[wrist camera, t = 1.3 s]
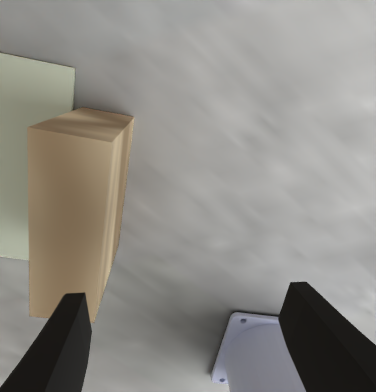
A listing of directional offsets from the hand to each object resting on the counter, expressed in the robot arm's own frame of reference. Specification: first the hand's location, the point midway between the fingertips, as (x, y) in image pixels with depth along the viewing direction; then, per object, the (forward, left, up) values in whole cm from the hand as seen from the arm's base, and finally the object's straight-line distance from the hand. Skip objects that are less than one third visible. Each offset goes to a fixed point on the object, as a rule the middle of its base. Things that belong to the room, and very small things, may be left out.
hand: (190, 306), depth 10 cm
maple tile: (+5, 0, -10) cm, 11 cm away
